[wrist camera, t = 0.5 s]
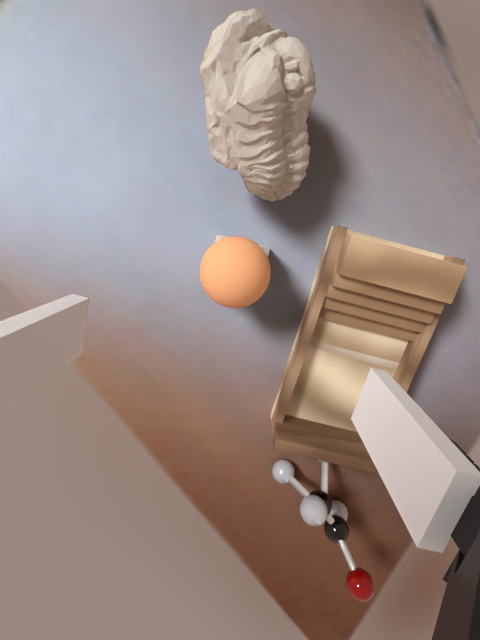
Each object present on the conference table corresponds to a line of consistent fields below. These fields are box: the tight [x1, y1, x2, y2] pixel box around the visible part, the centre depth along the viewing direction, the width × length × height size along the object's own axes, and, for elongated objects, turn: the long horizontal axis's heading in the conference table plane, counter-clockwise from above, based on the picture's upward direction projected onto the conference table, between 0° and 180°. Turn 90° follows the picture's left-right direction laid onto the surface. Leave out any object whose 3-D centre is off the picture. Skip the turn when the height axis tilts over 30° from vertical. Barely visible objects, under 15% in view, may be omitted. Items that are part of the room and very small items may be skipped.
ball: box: [200, 236, 271, 308], centre depth 28 cm, size 6×6×6 cm
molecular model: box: [272, 460, 374, 602], centre depth 36 cm, size 8×12×11 cm
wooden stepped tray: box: [271, 226, 468, 475], centre depth 33 cm, size 22×12×6 cm, turn 166°
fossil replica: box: [200, 9, 316, 202], centre depth 26 cm, size 12×8×10 cm
